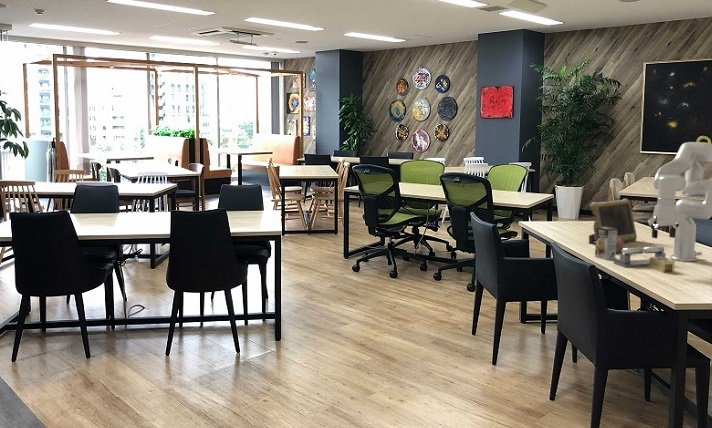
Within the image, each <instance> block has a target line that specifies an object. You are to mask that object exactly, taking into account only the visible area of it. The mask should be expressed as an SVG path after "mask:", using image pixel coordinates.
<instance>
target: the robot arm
mask: <svg viewBox="0 0 712 428" xmlns="http://www.w3.org/2000/svg"><path fill="white" fill-rule="evenodd" d="M699 162H712V143H710V142H704V141H703V142H702V141H700V142H699V141H688V142H684V143H682V144H681V145H680V147H679V149H678V151H677V153H676V155H675V157H674V159H673V160H671V161H669V162H667V163H665V164H664V165H662V166H660V167H659V168H658V170H657V172H656V174H655V176H654V178H653V187H654V188H655V190H658V191H657V202H656V203H657V204H655V206H654V208H653V213H652V218H650V219H648V220H647V223H648V226H649V227H650V229H651V237H652V238H653V239H658V235H659V232H658V231H659V230H658V229H659V227H670V229H669V233H668V234H669V236H668V237H669V238H672V239H674V244H673V245H674V247H673V254H672V255H670V256H669V259H670V260H673V261H677V262H678V261H679V262H696V261H697V260H698V257H697V256H702V255H703V252H702V251H697V250H695V249H696V237H697V236H696V235H697V234H696V233H697V225H696V222H695V221H694V219H701V220H708V219H710V218H712V180H709V179H703V178H704V168H703V167H702V166H701V164H700V163H699ZM683 173H684V176H682V175H678V174H683ZM677 192H681V193H682V195H683V196H684V197H687V198H681V199H678V200H677V199H676V193H677ZM694 198H695V199H694ZM652 238H651V239H652Z"/></svg>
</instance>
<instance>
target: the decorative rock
mask: <svg viewBox="0 0 712 428" xmlns="http://www.w3.org/2000/svg"><path fill="white" fill-rule="evenodd" d="M624 244H625V242H624V240H623V239H622V238H621V237H620V236H618V235H617V243H616V253H622V249H624V246H625V245H624Z"/></svg>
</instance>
